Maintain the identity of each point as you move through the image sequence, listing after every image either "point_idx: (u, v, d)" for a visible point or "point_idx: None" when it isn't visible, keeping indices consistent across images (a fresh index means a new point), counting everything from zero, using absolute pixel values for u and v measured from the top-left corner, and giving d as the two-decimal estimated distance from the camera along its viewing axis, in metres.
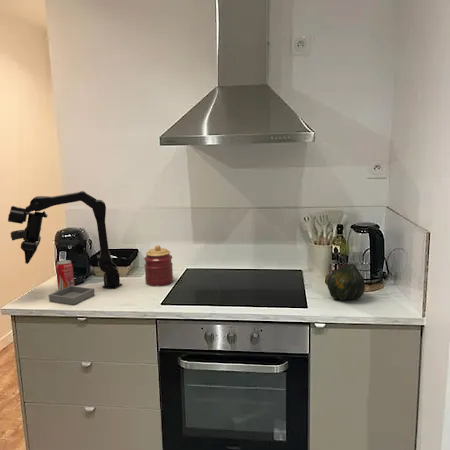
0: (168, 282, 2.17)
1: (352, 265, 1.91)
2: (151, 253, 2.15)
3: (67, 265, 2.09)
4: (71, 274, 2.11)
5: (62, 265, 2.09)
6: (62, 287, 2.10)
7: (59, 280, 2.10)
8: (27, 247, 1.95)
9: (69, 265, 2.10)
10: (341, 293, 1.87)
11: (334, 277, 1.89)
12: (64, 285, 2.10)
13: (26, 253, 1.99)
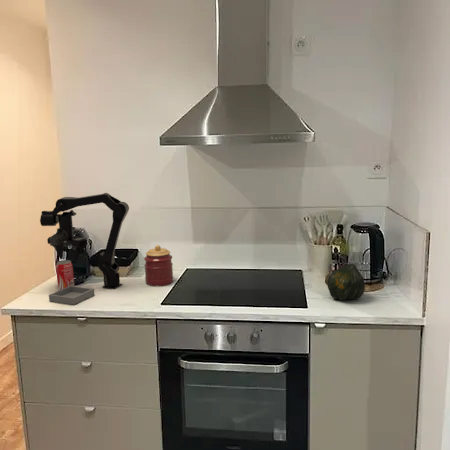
0: (168, 282, 2.17)
1: (352, 265, 1.91)
2: (151, 253, 2.15)
3: (67, 265, 2.09)
4: (71, 274, 2.11)
5: (62, 265, 2.09)
6: (62, 287, 2.10)
7: (59, 280, 2.10)
8: (82, 244, 2.09)
9: (69, 265, 2.10)
10: (341, 293, 1.87)
11: (334, 277, 1.89)
12: (64, 285, 2.10)
13: (76, 251, 2.10)
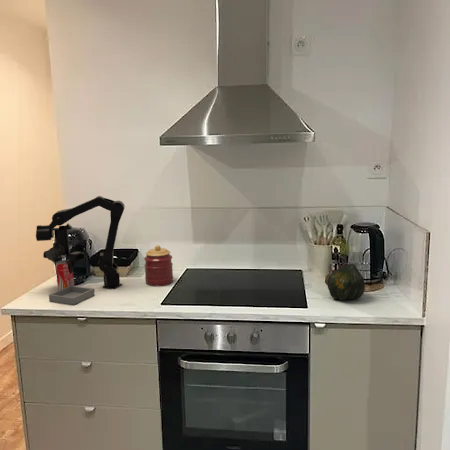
0: (168, 282, 2.17)
1: (352, 265, 1.91)
2: (151, 253, 2.15)
3: (66, 265, 2.10)
4: (71, 274, 2.11)
5: (61, 265, 2.09)
6: (62, 287, 2.10)
7: (59, 280, 2.10)
8: (79, 258, 2.07)
9: None
10: (341, 293, 1.87)
11: (334, 277, 1.89)
12: (64, 284, 2.10)
13: (70, 264, 2.09)
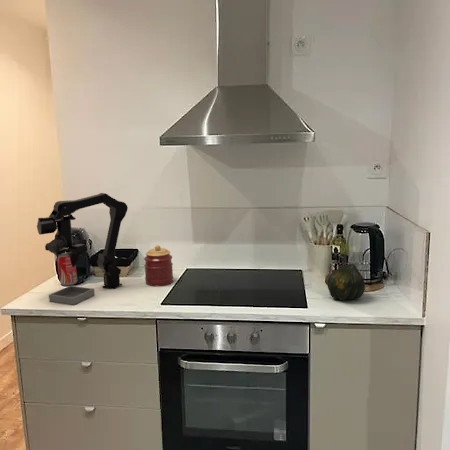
0: (168, 282, 2.17)
1: (352, 265, 1.91)
2: (151, 253, 2.15)
3: (69, 257, 2.00)
4: (73, 267, 2.02)
5: (64, 257, 1.99)
6: (64, 281, 2.01)
7: (61, 273, 2.00)
8: (82, 250, 1.97)
9: None
10: (341, 293, 1.87)
11: (334, 277, 1.89)
12: (66, 278, 2.00)
13: (73, 257, 2.00)
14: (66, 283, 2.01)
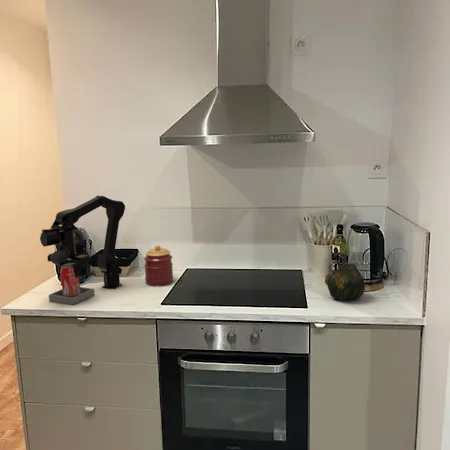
0: (168, 282, 2.17)
1: (352, 265, 1.91)
2: (151, 253, 2.15)
3: (72, 269, 1.97)
4: (76, 278, 1.99)
5: (67, 269, 1.96)
6: (67, 292, 1.98)
7: (64, 285, 1.98)
8: (85, 261, 1.95)
9: None
10: (341, 293, 1.87)
11: (334, 277, 1.89)
12: (70, 290, 1.98)
13: (76, 268, 1.97)
14: (69, 294, 1.98)
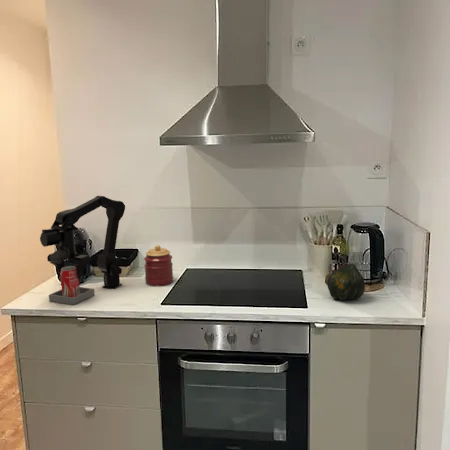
0: (168, 282, 2.17)
1: (352, 265, 1.91)
2: (151, 253, 2.15)
3: (72, 271, 1.97)
4: (76, 281, 1.99)
5: (67, 271, 1.96)
6: (67, 295, 1.98)
7: (64, 287, 1.98)
8: (85, 261, 1.95)
9: (74, 271, 1.98)
10: (341, 293, 1.87)
11: (334, 277, 1.89)
12: (69, 292, 1.98)
13: (79, 269, 1.96)
14: None
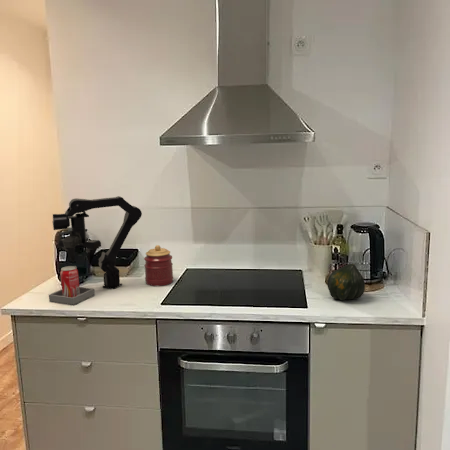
0: (168, 282, 2.17)
1: (352, 265, 1.91)
2: (151, 253, 2.15)
3: (72, 271, 1.97)
4: (76, 281, 1.99)
5: (67, 271, 1.96)
6: (67, 295, 1.98)
7: (64, 287, 1.98)
8: (96, 246, 2.04)
9: (74, 271, 1.98)
10: (341, 293, 1.87)
11: (334, 277, 1.89)
12: (69, 292, 1.98)
13: (90, 253, 2.06)
14: None
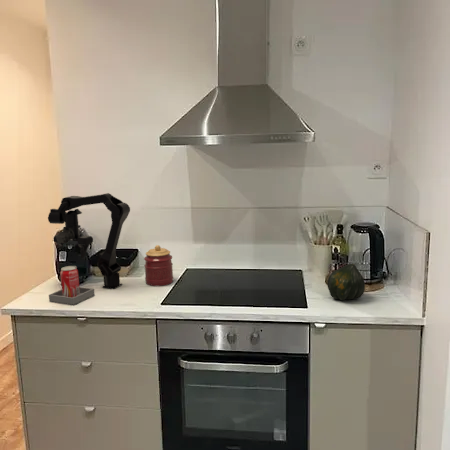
0: (168, 282, 2.17)
1: (352, 265, 1.91)
2: (151, 253, 2.15)
3: (72, 271, 1.97)
4: (76, 281, 1.99)
5: (67, 271, 1.96)
6: (67, 295, 1.98)
7: (64, 287, 1.98)
8: (88, 241, 2.13)
9: (74, 271, 1.98)
10: (341, 293, 1.87)
11: (334, 277, 1.89)
12: (69, 292, 1.98)
13: (83, 248, 2.15)
14: None
